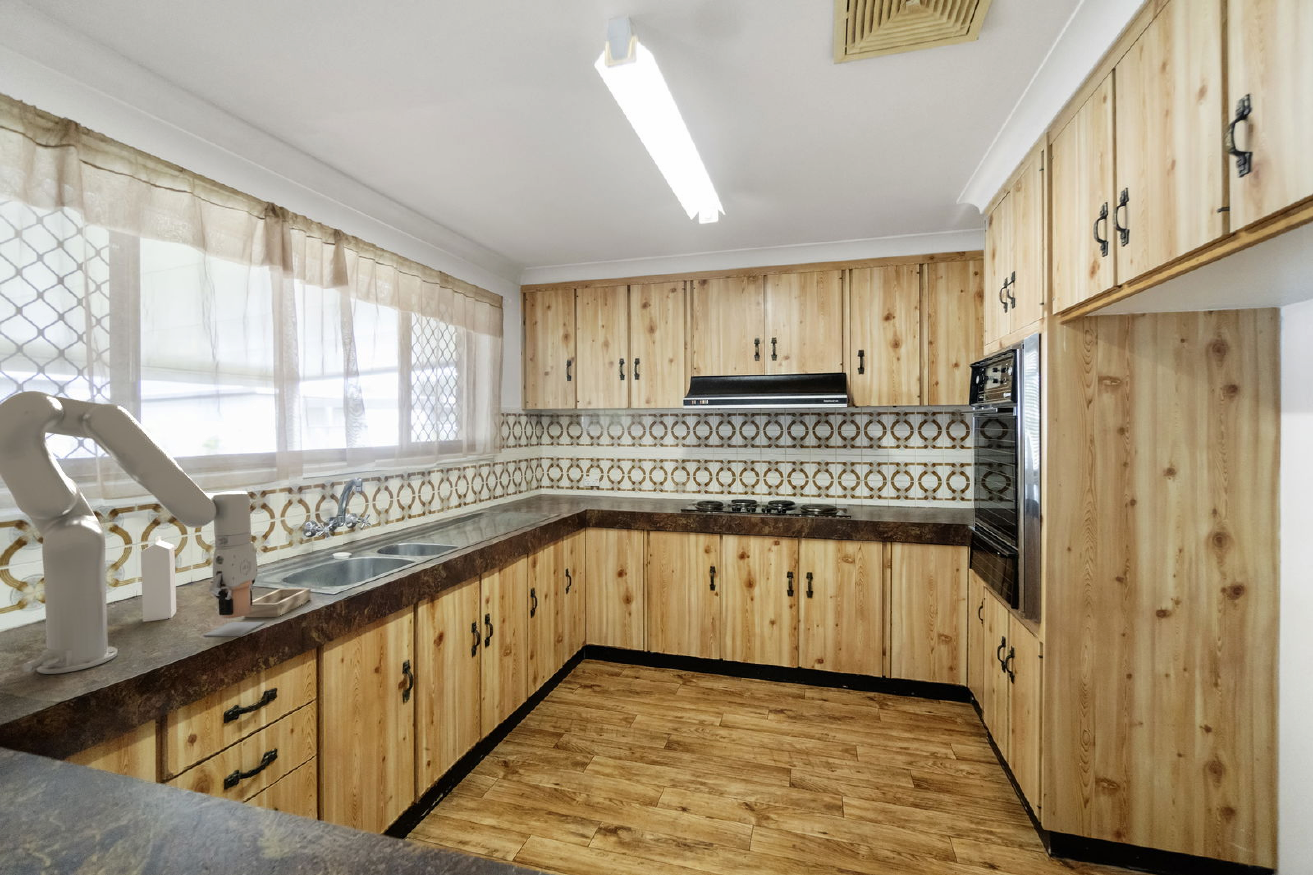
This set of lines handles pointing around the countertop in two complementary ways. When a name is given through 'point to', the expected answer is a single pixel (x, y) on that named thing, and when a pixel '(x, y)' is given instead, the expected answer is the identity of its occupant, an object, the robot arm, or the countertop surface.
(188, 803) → the countertop surface
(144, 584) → the milk
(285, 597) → the wooden tray
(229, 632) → the mat
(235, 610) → the pot
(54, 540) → the robot arm
